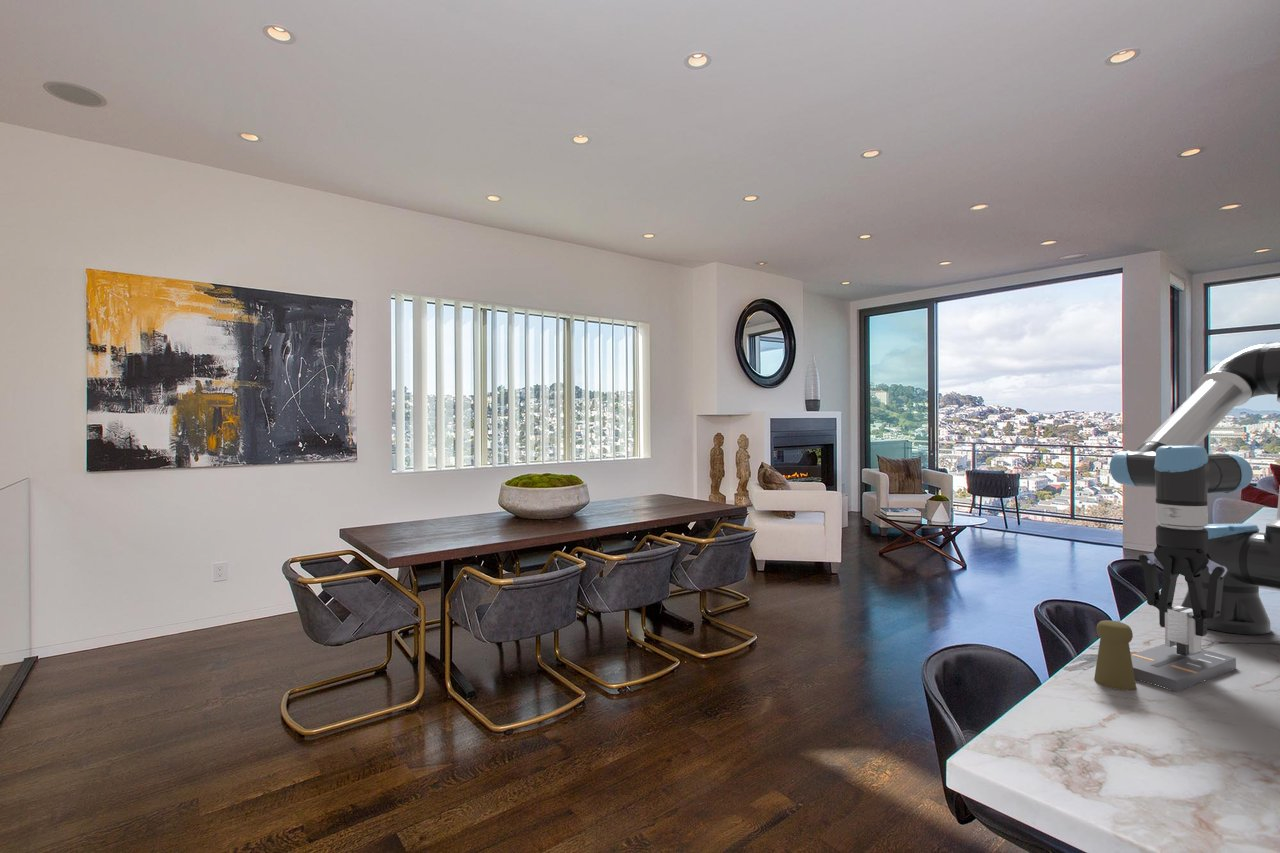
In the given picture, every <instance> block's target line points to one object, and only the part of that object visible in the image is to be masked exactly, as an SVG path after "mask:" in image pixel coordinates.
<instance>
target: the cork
mask: <svg viewBox="0 0 1280 853" xmlns="http://www.w3.org/2000/svg"><path fill="white" fill-rule="evenodd" d="M1095 628H1096V633H1097V636H1098V638H1100V639H1099V644H1098V651H1097V658H1096V663H1095V664H1096V665H1095V670H1094V678H1093V680H1094V681H1095V682H1096V683H1097V684H1099V685H1101V686H1103V687H1107V688H1110V689H1113V690H1114V689H1115V690H1120V691H1132V690H1135V689H1137V685H1136V684H1137V683H1136V679H1135V677H1134V671H1133V665H1132V659H1131V654H1132V653H1131V650H1130V648H1131V647H1130V642H1132V640H1133V634H1134V633H1133V630H1132V628H1131V626H1130V625H1128V624H1126V623H1124V622H1120V621H1116V620H1108V619H1106V620H1100V621H1099V622H1098V623H1097V625H1096V627H1095Z"/></svg>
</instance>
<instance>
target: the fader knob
mask: <svg viewBox="0 0 1280 853" xmlns="http://www.w3.org/2000/svg"><path fill="white" fill-rule="evenodd" d="M1192 616H1194V615H1193V610H1192V609H1191V608H1187V607H1181V605H1177V606H1172V608H1169V609H1168V640H1170V641H1174V642H1177V654H1180V655H1184V656H1187V655H1189V618H1190V617H1192Z"/></svg>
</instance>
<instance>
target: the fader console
mask: <svg viewBox="0 0 1280 853" xmlns="http://www.w3.org/2000/svg"><path fill="white" fill-rule="evenodd" d="M1130 654H1131V659H1132V665H1133V671H1134V677H1135V680H1137V679H1138V680H1137V681H1140V680H1142V681H1141V682H1143V681H1145V682H1144V683H1146V682H1149V683H1152V684H1156V685H1159V686H1162V687H1165V688H1168V689H1171V690H1170V691H1172V690H1173V691H1172V692H1175V691H1176V692H1175V693H1177V691H1178V692H1180V691H1183V690H1185V689H1188V688H1190V687H1193V686H1195V685H1198V684H1200V683H1199V682H1201V683H1203V682H1205V681H1204V680H1206V681H1207V679H1208V680H1211V679H1214V678H1215V676H1216V677H1218V676H1220V675H1223V674H1225V673H1228V672H1230V671H1233V670H1236V669H1237V658H1236V657H1233V656H1231V655H1227V654H1222V653H1219V652H1216V651H1215V652H1214V651H1211V650H1206V649H1204V648H1203V649H1202V648H1201V651H1200V652H1197V653H1190V652H1189V655H1187V656H1184V655H1180V654H1177V645H1175V646H1172V647H1167V646H1165V643H1163V644H1159V645H1157V646H1153V647H1151V648H1147V649H1145V650H1144V649H1143V650H1142V651H1138V652H1135V653H1130ZM1210 678H1211V679H1210ZM1202 681H1203V682H1202ZM1149 683H1148V684H1149ZM1197 683H1198V684H1197ZM1152 684H1151V685H1152ZM1156 685H1155V686H1156ZM1192 685H1193V686H1192ZM1159 686H1158V687H1159ZM1162 687H1161V688H1162ZM1187 687H1188V688H1187ZM1165 688H1164V689H1165ZM1168 689H1167V690H1168ZM1182 689H1183V690H1182Z"/></svg>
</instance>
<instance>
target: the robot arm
mask: <svg viewBox="0 0 1280 853" xmlns="http://www.w3.org/2000/svg"><path fill="white" fill-rule="evenodd" d="M1264 395H1267V396H1268V395H1276V401H1277V402H1278V403H1280V341H1276V342H1265V343H1259V344H1255V345H1251V346H1249V347H1246V348H1243V349H1242V350H1239V351H1237V352H1235V353H1233V354H1231V355H1229V356H1227V357H1226V358H1224V359H1223V360H1221V361H1219V362H1218V363H1216V364H1215V365H1214V366H1213V367H1211V368H1210V369H1209V370H1208V371H1206V372H1205V373H1204V375H1202V376H1201V377H1200V379H1199V380H1198V385H1197V388H1196V390H1195V391H1194V392H1192V394H1190V395H1189V396H1188V398H1186V400H1185V401H1183V403H1182V404H1181V405H1179V407H1178V408H1176V409H1175V411H1173V413H1171V415H1170V416H1168V417H1167V418H1166V420H1165V421H1163V422H1162V423H1161V424H1160V426H1158V427H1157V429H1156V430H1154V432H1152V434H1150V436H1148V438H1146V439H1145V440H1144V441H1143V443H1141V445H1140V446H1138V447H1137V448H1136V449H1135V450H1134V451H1133V450H1126V451H1119V452H1116V453H1115V454H1114V455H1113V456H1112V457H1111V459H1110V462H1109V473H1110V475H1111V477H1112V479H1113V480H1114V481H1115V482H1116V483H1118V484H1121V485H1127V486H1133V487H1136V488H1139V487H1141V488H1155V522H1156V523H1157V524H1158V525H1157V526H1156V527H1155V542H1156V547H1155V549H1154V550H1153V552H1151V553H1144V554H1140V555H1138V560H1139V562H1140V564H1141V565H1142V570H1143V578H1144V585H1145V587H1144V588H1145V596H1146V602H1147V605H1149V606H1150V607H1151V606H1152V607H1154V608H1156V609H1157V610H1158V613H1159V619H1158V620H1159V626H1160V627H1161V628H1164V644H1165V646H1167V647H1172V646H1175V645H1177V642H1174V641H1170V640H1168V609H1169V608H1172V607H1173V604H1174V603H1173V602H1174V597H1175V592H1176V586H1177V581H1178V577H1179V576H1180V575H1181V576H1183V577H1184V580H1185V582H1186V584H1187V591H1186V593H1185V596H1184V598H1183V600H1182V602H1181V604H1180V606H1181V607H1187V608H1191V609H1192V610H1193V615H1194V616H1192V617H1190V618H1189V652H1190V653H1197V652H1200V651H1201V649H1202V637H1204V636H1207V634H1208V629H1209V630H1212V631H1218V632H1223V633H1229V634H1239V635H1252V636H1253V635H1266V634H1269V633H1271V630H1272V629H1271V619H1270V617H1269V616H1268V613H1267V611H1266V608H1265V606H1264V603H1263V602H1262V599H1261V597H1260V587H1264V588H1269V589H1274V590H1279V591H1280V486H1279V489H1278V502H1277V512H1276V518H1275V519H1273V520H1272V521H1270V522H1268V523H1267V524H1266V525H1265V532H1260V528H1259V527H1258V525H1257V524H1252V523H1251V524H1250V523H1209V515H1208V514H1209V512H1208V510H1209V509H1208V494H1217V493H1224V494H1227V493H1228V494H1230V493H1233V492H1238V491H1240V490H1243V489H1245V488H1246V487H1248V486H1249V485H1250V483H1251V482H1252V480H1253V476H1254V471H1253V467H1252V466H1251V464H1250V462H1248V460H1247V459H1245V458H1243V457H1242V456H1240V455H1237V454H1231V453H1220V452H1219V453H1215V454H1214V453H1213V454H1211V453H1208V452H1207V449H1206V448H1205V447H1204V446H1201V445H1199V444H1200V443H1201V442H1202V441H1203V440H1204V439H1206V437H1207V436H1209V434H1210V433H1211V432H1212V431H1213V429H1215V427H1217V426H1218V425H1219V423H1220V422H1222V420H1223V419H1224V418H1225V417H1227V415H1229V413H1230V412H1231V411H1232V410H1233V409H1235V408H1236V407H1240V406H1243V405H1245V404H1246V403H1248V401H1250V400H1251V398H1254V397H1258V396H1264ZM1157 562H1159V564H1160V565H1161V567H1163V570H1162V582H1161V588H1160V584H1159V576H1158V567H1157Z"/></svg>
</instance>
